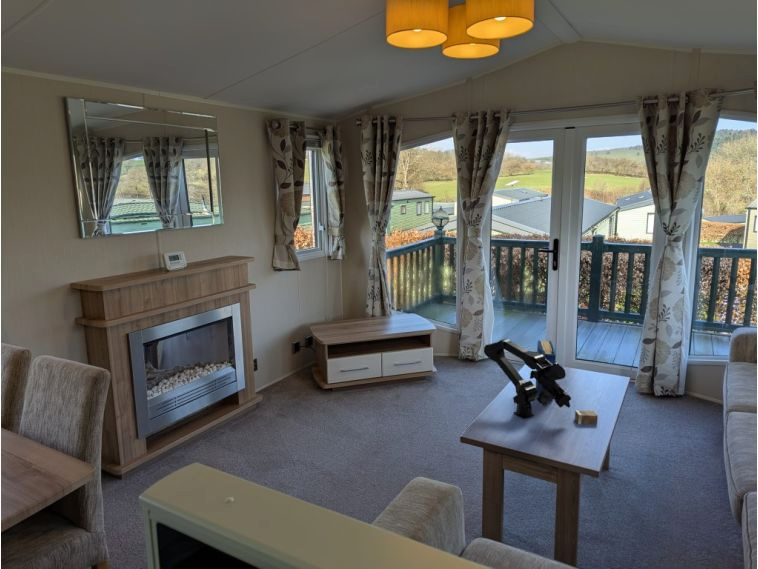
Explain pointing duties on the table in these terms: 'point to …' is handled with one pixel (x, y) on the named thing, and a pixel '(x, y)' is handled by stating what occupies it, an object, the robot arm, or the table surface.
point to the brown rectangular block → (586, 417)
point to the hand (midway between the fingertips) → (569, 406)
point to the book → (548, 353)
